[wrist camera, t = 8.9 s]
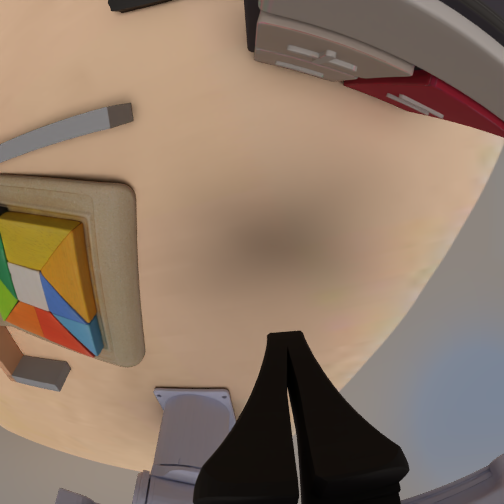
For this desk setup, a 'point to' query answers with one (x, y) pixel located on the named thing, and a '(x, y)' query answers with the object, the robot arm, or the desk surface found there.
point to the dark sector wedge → (132, 4)
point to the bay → (3, 346)
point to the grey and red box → (393, 51)
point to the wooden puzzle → (72, 265)
